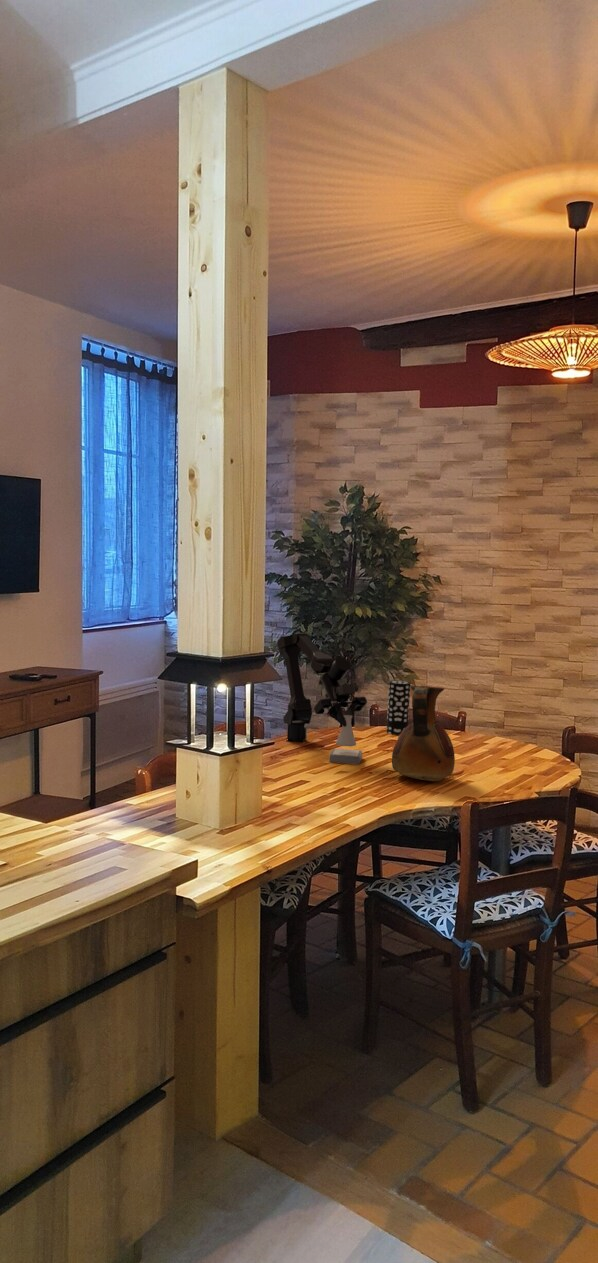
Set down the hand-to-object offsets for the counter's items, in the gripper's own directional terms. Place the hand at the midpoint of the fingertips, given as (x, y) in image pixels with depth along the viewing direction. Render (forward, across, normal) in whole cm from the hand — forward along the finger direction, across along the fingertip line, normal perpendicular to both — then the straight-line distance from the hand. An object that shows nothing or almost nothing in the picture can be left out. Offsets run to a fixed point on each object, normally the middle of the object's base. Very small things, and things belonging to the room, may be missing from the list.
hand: (349, 725), depth 312 cm
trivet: (+8, 0, +9) cm, 12 cm away
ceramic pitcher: (+29, +9, -12) cm, 33 cm away
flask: (+4, 0, +6) cm, 7 cm away
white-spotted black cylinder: (-14, +46, +32) cm, 57 cm away
